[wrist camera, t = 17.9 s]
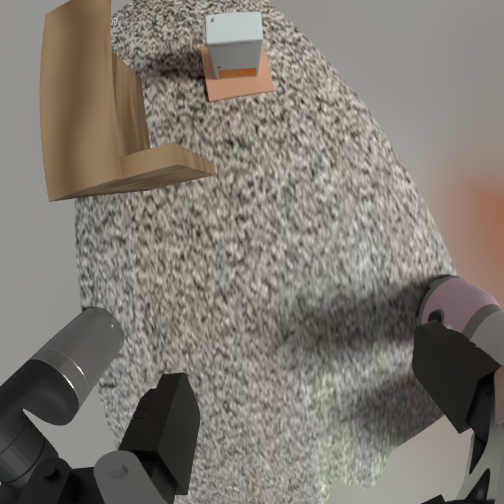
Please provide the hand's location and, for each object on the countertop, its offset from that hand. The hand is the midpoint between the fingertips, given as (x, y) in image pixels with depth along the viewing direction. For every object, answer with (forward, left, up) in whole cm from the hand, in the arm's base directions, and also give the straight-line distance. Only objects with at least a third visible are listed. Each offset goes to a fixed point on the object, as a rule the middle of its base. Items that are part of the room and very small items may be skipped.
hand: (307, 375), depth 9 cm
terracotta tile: (+1, +24, -33) cm, 40 cm away
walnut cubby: (-9, +18, -33) cm, 39 cm away
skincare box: (+1, +24, -33) cm, 40 cm away
